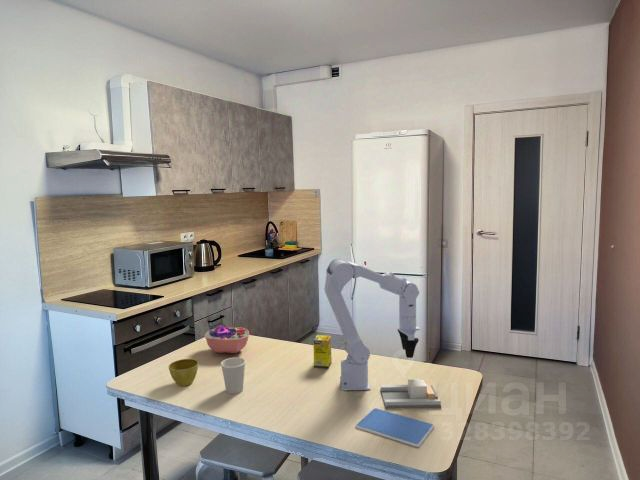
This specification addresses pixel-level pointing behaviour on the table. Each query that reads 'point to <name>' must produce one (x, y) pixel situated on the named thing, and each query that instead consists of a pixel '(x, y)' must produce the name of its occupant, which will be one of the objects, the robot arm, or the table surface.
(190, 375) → the flower pot
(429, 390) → the block
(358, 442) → the table surface
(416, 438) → the tablet computer
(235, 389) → the dixie cup
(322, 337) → the supplement box
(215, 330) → the cell model
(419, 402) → the rail mount
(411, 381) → the block
